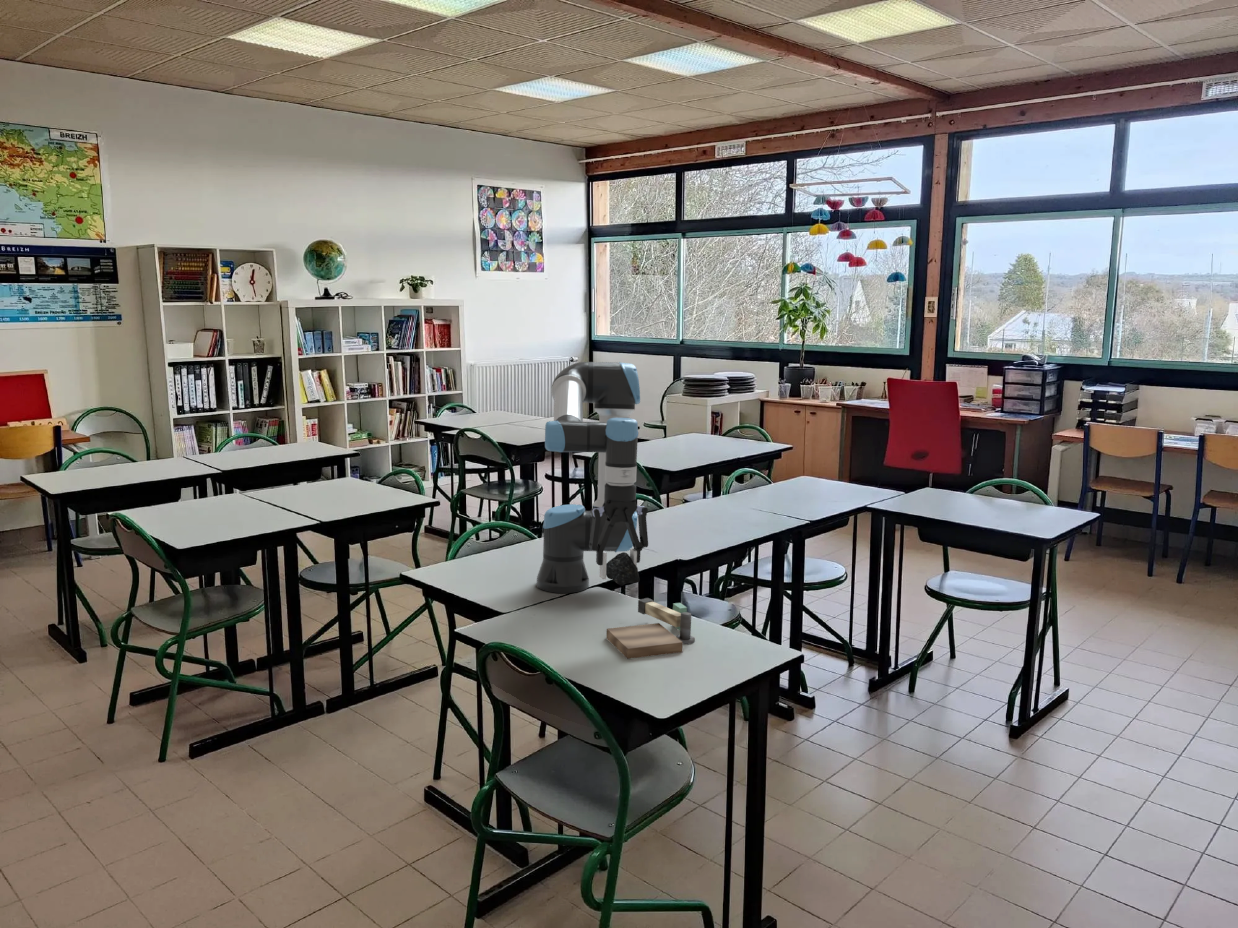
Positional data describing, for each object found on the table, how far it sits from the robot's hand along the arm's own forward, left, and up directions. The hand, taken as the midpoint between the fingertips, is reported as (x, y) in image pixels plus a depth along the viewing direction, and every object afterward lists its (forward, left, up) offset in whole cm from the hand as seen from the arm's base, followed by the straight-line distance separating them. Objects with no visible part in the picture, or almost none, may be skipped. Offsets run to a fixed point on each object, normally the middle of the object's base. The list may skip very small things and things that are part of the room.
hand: (617, 576), depth 226 cm
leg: (-3, +13, -13) cm, 19 cm away
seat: (+6, +8, -16) cm, 19 cm away
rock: (+2, +1, 0) cm, 2 cm away
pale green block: (-3, +19, -16) cm, 25 cm away
